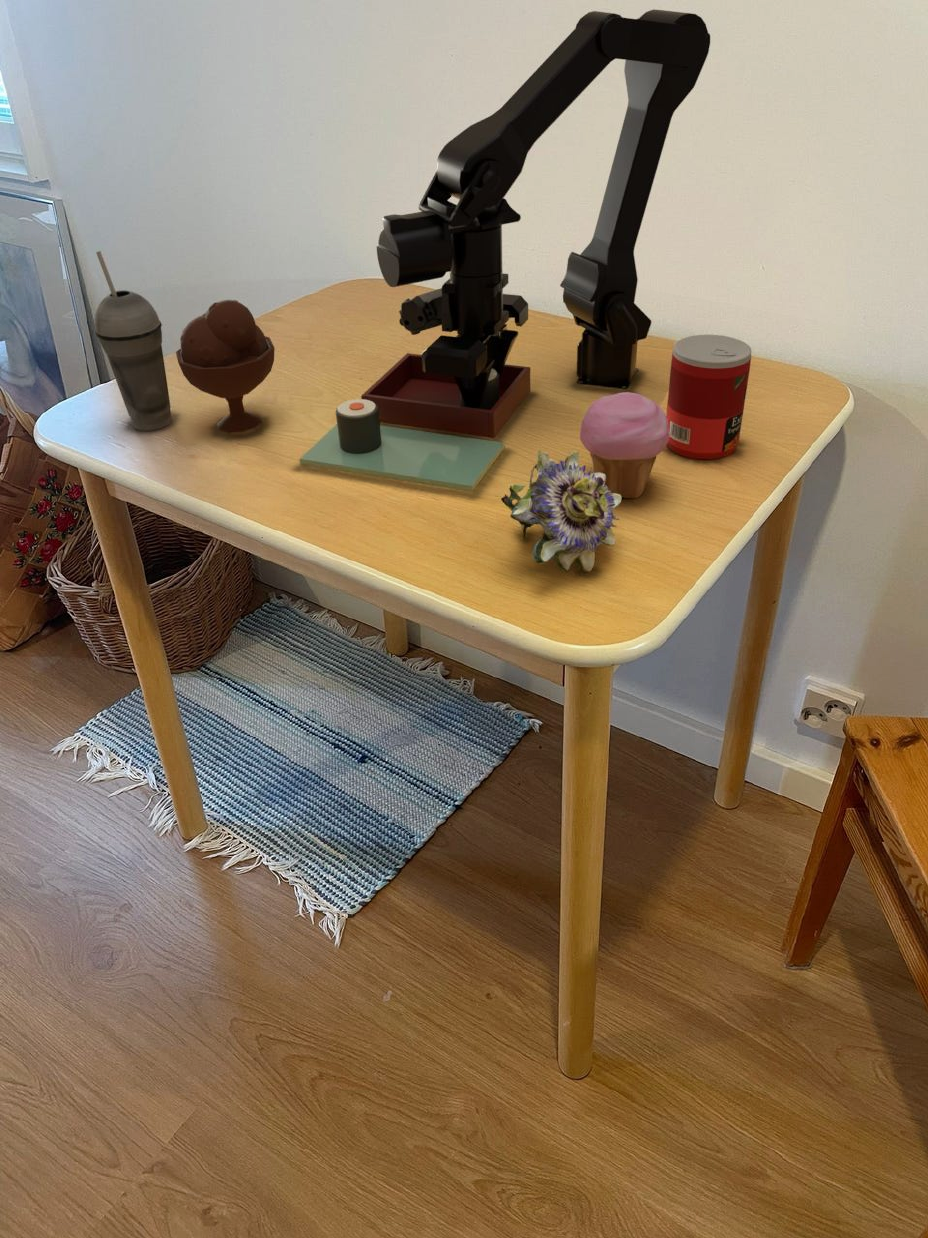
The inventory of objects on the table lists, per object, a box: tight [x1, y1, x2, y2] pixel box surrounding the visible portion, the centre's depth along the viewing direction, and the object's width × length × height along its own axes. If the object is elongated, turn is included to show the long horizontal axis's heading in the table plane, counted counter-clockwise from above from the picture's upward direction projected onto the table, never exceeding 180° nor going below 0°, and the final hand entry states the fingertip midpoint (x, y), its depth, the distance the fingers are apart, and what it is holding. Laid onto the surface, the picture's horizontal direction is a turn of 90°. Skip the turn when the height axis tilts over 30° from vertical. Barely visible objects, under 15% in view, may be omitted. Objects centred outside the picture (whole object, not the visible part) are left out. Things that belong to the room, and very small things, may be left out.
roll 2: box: [460, 368, 499, 410], centre depth 112 cm, size 5×5×5 cm
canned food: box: [665, 334, 752, 460], centre depth 102 cm, size 8×8×11 cm
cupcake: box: [579, 391, 670, 499], centre depth 95 cm, size 9×9×10 cm
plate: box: [299, 423, 505, 492], centre depth 105 cm, size 20×10×1 cm, turn 69°
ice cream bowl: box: [175, 299, 276, 433], centre depth 109 cm, size 11×11×15 cm
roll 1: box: [335, 398, 382, 454], centre depth 104 cm, size 5×5×5 cm
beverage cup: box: [94, 250, 173, 432], centre depth 109 cm, size 7×7×20 cm
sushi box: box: [360, 352, 531, 439], centre depth 114 cm, size 16×13×4 cm
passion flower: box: [500, 449, 623, 573], centre depth 88 cm, size 11×11×12 cm
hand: (480, 403), depth 113 cm, fingers closed on roll 2, 4 cm apart
